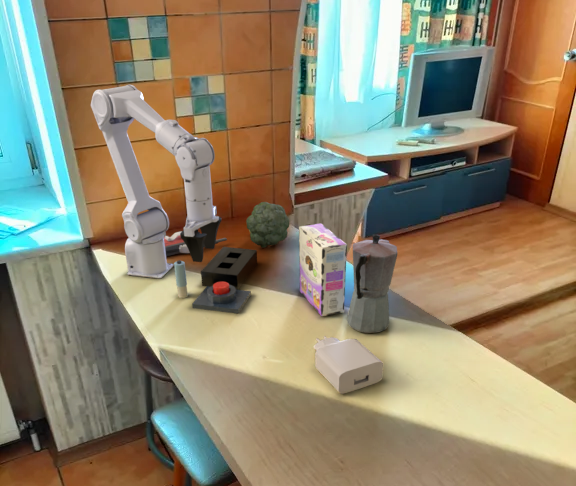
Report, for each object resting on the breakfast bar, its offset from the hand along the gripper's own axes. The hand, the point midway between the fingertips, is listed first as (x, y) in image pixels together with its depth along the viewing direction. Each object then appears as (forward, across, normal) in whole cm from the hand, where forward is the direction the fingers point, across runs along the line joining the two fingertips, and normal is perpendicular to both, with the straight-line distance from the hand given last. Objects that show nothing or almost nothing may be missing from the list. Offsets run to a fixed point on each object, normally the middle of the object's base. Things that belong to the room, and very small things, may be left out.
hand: (203, 254), depth 135 cm
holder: (+10, +10, -2) cm, 14 cm away
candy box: (+10, +1, -27) cm, 29 cm away
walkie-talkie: (+10, +24, +14) cm, 29 cm away
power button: (+7, -4, -5) cm, 10 cm away
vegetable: (+10, +32, -5) cm, 34 cm away
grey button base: (+10, -4, -5) cm, 12 cm away
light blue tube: (+10, -4, +5) cm, 11 cm away
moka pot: (+10, -7, -39) cm, 41 cm away
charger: (+10, -24, -36) cm, 44 cm away
